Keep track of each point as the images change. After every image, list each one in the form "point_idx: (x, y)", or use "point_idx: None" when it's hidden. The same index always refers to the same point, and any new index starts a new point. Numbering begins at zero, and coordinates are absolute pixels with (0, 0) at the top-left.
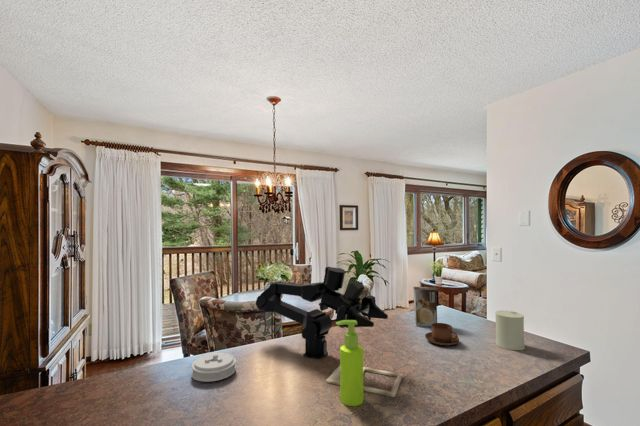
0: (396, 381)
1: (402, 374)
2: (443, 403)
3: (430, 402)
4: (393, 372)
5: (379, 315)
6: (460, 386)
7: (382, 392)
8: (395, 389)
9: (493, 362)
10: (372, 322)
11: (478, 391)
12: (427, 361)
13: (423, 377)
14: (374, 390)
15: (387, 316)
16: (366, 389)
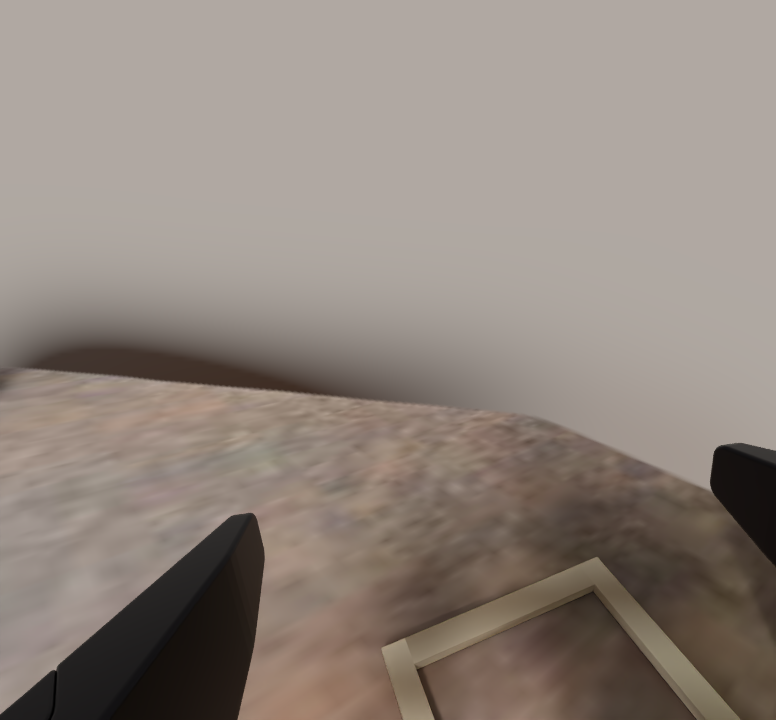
0: (486, 625)
1: (386, 648)
2: (460, 445)
3: (491, 467)
4: (401, 714)
5: (213, 705)
6: (313, 455)
7: (643, 612)
8: (557, 579)
9: (51, 455)
10: (747, 445)
11: (314, 420)
12: None
13: (323, 569)
14: (684, 657)
15: (254, 520)
16: (733, 713)
